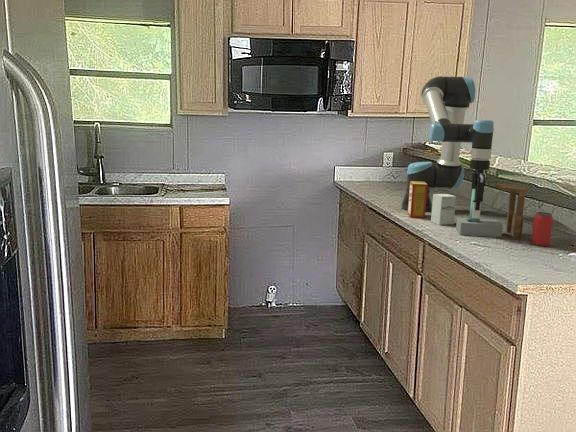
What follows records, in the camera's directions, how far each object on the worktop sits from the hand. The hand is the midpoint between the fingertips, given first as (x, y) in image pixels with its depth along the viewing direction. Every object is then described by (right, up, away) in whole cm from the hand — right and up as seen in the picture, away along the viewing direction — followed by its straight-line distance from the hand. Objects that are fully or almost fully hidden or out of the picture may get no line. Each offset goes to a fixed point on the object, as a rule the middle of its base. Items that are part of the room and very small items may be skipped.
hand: (474, 216), depth 225 cm
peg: (0, -3, +1) cm, 3 cm away
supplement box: (-8, -3, +19) cm, 21 cm away
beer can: (+20, -11, -15) cm, 27 cm away
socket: (+2, -7, +1) cm, 7 cm away
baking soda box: (-16, 0, +34) cm, 38 cm away
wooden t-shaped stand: (+12, -7, 0) cm, 14 cm away
